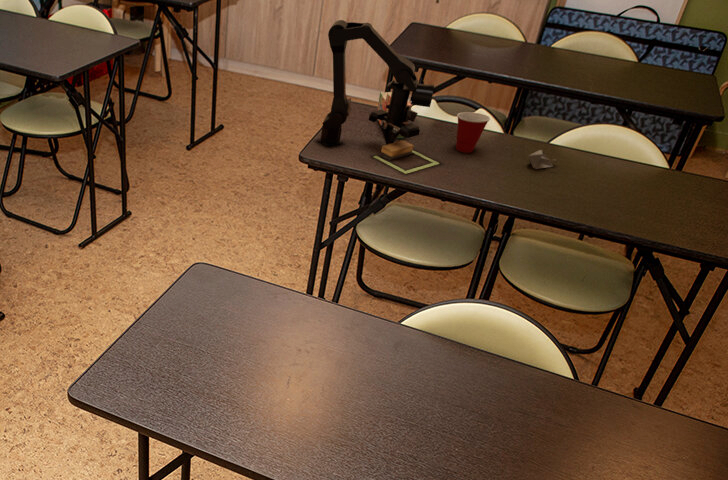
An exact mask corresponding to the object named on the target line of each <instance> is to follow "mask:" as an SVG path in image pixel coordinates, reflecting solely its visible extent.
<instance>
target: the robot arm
mask: <svg viewBox="0 0 728 480" xmlns="http://www.w3.org/2000/svg"><path fill="white" fill-rule="evenodd" d="M327 36H328V43H329V47H330V50H331V53H332V84H333V85H332V86H333V87H332V88H333V89H332V90H333V91H332V93H333V98H332V103H331V106H330V112H329V113H327V114H326V116H325V118H324V119H323V121H322V127H321V134H320V138H317V140H316V141H317V143H320V144H321V145H324V146H326V147H328V148H331V147H335V146H338V145H339V146H340V145H342V144H343V141H341V138H342V137H341V135H342V131H343V130H342V125H344V123H346V121H347V119H348V117H349V116H350V114H351V112H352V110H353V109H352V105H351V104H352V97H349V98H348V96H347V92H346V91H347V90H346V89H347V88H346V87H347V86H346V84H347V83H346V82H347V81H346V79H347V77H346V51H347V49H346V48H347V44H348V42H349V41H355V40H363V41H364V42H365V43H366V44H367V45H368V46H369V47H370V48H371V49H372V50H373V51H374V53H376V54H377V55H378V57H379V58H381V60H382V61H383V62H384V63H385V64H386V65H387V67H388V69H389V71H390V73H391V75H392V76H393V78H394V79H392V81H390V82H388V83H387V86H386V88H387V89H389V90H391V92H392V94H391V99H390V104H388V105H386V108H387V109H388V112H386V111H384V110H382V109H381V110H377V109H376V110H374V111H373V110H372V111H371V112H370V113H369V115H368V121H370V122H372V123H376V122H377V121H378V119H379V120H381V121H382V126H381V125H380V126H379V129H381V132H382V134H383V138H384V142H385V145H388V144H391V143H395V142H396V140H397V139H398V138H397V137H398V135H399V134H400V135H401V136H403V137H404V139H409V138H414V137H417V136H419V135H420V132H421V128H420V125H416V124H414V122H415V120H416V118H417V117H418V114H419V113H418V112H416V111H414V110H412V109H411V110H410V109H409V106H407V103H408V99H409V98H410V99H409V101H410V102H411V104H412V106H417V107H425V108H431V105H432V100H433V98H434V97H433V96H434V90H435V84H427V83H426V84H425V83H419V80H418V77H417V75H416V73H415V72H416V66H415V64H414V62H412V61H411V60H410V59H408V58H407V57H405V56H403V55H401V54H399V53H398V52H396V50H395V49H394V48H393V47H392V46H391V44H389V43H388V42H387V41H386V40H385V38H383V36H382V35H381V34H379V32H378V31H377V30H376V29H375V28H374V27H373V25H372V23H370V22H354V21H348V22H347V21H346V20H343V19H339V20H336V21H335V22H334V23H333V24H332V25H331V27H330V28H329V30H328V33H327ZM410 94H411V95H410ZM409 121H411V122H410V123H409ZM403 122H408V123H407V125H406V124H404V123H403Z"/></svg>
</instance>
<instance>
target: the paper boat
mask: <svg viewBox="0 0 728 480" xmlns="http://www.w3.org/2000/svg"><path fill="white" fill-rule="evenodd" d="M527 157H528V160H529V162H530V165H531V167H532V168H533V169H535V170H538V169H544V168H551V167H554V165H553V163H552V162H551V160H550V159H549V157H548V156H547V155H546V154H545V152H544V151H543V150H542V149H539V150H537V151H535V152H532V153H531V154H529V155H528V156H527ZM553 161H557V162H558V161H559V160H558V159H555V158H553Z"/></svg>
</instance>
